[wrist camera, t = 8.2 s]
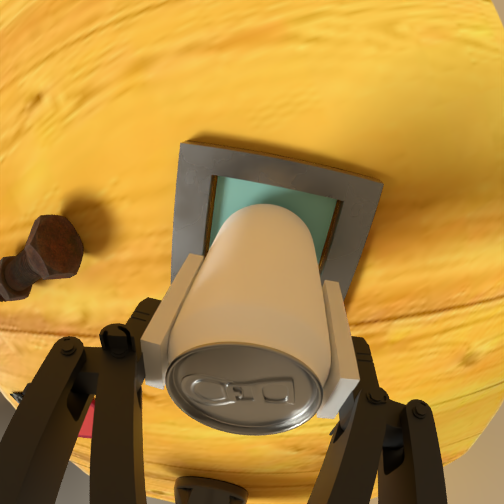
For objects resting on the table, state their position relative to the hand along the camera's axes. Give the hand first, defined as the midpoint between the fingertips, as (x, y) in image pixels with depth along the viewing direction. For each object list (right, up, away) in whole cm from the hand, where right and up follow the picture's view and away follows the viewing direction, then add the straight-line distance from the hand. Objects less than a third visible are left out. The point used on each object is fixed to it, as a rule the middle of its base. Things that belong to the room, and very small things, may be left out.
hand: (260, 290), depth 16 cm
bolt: (-22, +2, +9) cm, 24 cm away
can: (0, +2, +5) cm, 5 cm away
